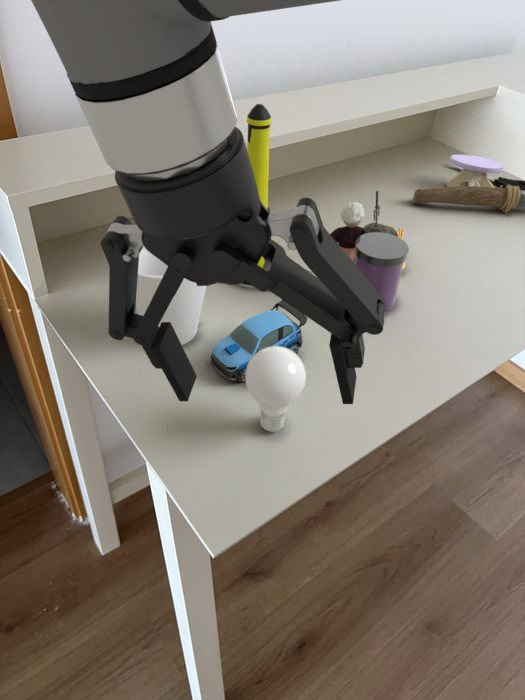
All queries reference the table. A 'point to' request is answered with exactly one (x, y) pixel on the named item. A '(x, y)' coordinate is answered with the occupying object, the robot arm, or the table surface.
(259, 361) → the lightbulb
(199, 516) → the table surface
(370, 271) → the jar
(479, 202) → the stone tool
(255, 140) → the flashlight
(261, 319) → the toy car
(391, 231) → the sword in stone
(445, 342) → the table surface
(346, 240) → the grandmother figurine
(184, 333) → the cup
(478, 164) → the toy table
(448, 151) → the table surface
